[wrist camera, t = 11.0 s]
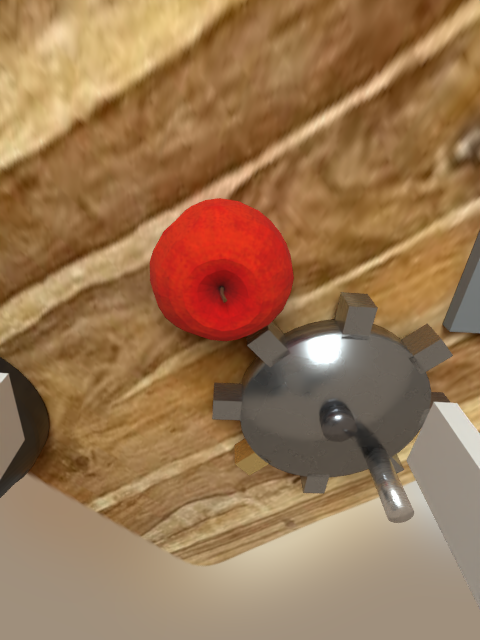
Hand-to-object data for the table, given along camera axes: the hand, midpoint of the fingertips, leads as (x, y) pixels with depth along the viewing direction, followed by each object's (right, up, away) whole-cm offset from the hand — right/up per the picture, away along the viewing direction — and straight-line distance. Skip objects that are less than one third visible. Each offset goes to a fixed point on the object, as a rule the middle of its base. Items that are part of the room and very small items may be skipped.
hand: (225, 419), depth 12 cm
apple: (-1, +8, +13) cm, 15 cm away
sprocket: (+7, -2, +19) cm, 20 cm away
